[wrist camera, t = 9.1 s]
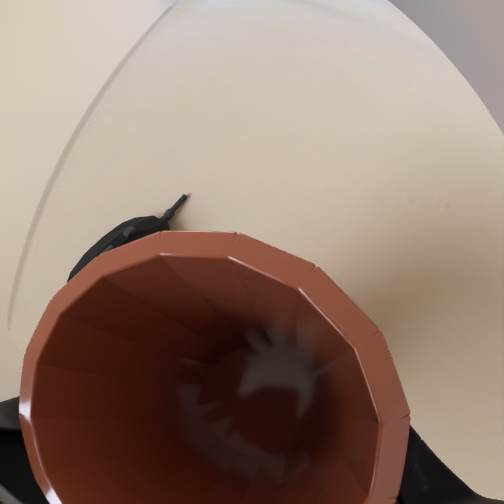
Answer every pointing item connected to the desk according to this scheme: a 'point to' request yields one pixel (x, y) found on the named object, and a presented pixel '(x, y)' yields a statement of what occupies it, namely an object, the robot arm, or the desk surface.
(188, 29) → the desk surface
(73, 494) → the pen cup
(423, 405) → the desk surface
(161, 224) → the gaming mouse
